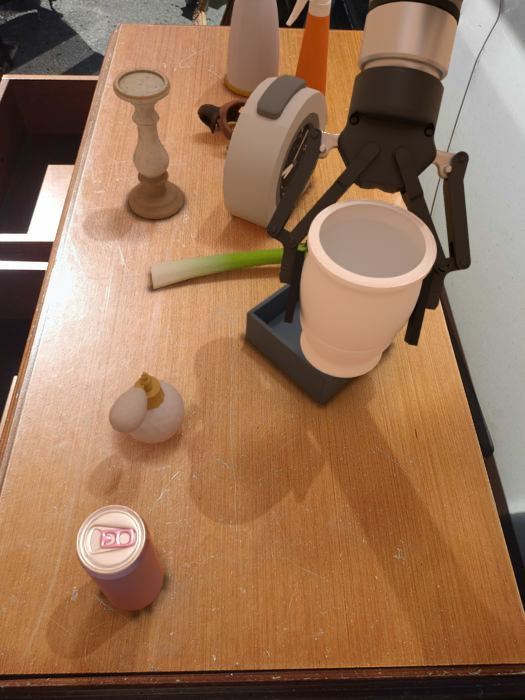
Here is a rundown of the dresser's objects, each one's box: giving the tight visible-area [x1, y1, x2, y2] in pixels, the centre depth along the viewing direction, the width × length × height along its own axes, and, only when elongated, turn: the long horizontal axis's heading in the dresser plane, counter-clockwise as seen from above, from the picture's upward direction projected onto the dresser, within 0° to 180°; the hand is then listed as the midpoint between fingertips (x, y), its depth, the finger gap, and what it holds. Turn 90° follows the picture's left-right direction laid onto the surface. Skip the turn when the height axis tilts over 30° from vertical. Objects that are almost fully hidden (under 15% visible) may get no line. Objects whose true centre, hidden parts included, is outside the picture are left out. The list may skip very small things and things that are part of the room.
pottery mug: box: [197, 98, 247, 151], centre depth 100 cm, size 12×10×8 cm
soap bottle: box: [224, 0, 280, 98], centre depth 103 cm, size 11×12×26 cm
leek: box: [149, 239, 308, 290], centre depth 82 cm, size 6×7×30 cm
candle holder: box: [112, 67, 184, 220], centre depth 83 cm, size 9×9×20 cm
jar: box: [299, 198, 437, 378], centre depth 51 cm, size 11×10×15 cm
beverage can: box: [75, 504, 164, 612], centre depth 52 cm, size 6×6×15 cm
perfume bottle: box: [108, 371, 186, 445], centre depth 62 cm, size 8×10×12 cm
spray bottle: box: [285, 0, 332, 97], centre depth 96 cm, size 7×11×26 cm, turn 132°
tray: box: [245, 284, 353, 405], centre depth 74 cm, size 14×14×6 cm
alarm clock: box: [221, 73, 328, 229], centre depth 85 cm, size 21×8×20 cm, turn 153°
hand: (349, 332), depth 51 cm, fingers closed on jar, 11 cm apart
